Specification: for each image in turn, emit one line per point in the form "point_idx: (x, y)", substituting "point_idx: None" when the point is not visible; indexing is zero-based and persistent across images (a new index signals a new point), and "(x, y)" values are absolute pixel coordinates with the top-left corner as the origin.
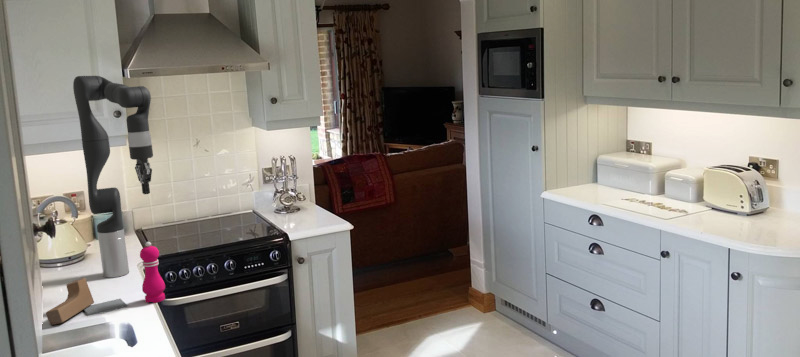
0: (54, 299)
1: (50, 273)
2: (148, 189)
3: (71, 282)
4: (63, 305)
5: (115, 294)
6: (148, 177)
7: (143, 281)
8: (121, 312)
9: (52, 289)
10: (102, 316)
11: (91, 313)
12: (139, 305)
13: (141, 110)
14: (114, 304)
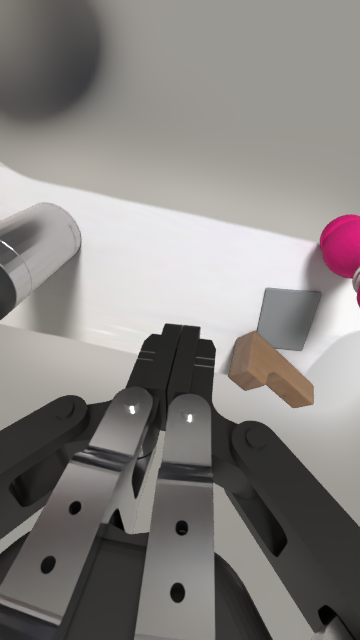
0: None
1: None
2: (213, 361)
3: (242, 385)
4: (301, 395)
5: (214, 281)
6: (209, 467)
7: (343, 276)
8: (347, 310)
9: (91, 340)
10: (332, 336)
11: (303, 345)
12: None
13: None
14: (295, 308)
